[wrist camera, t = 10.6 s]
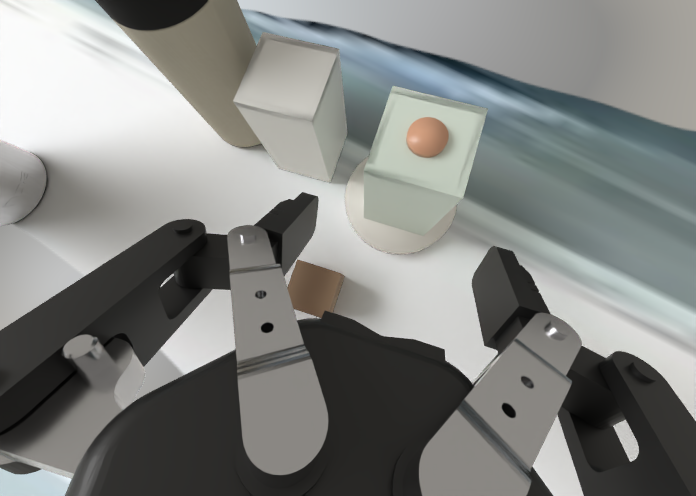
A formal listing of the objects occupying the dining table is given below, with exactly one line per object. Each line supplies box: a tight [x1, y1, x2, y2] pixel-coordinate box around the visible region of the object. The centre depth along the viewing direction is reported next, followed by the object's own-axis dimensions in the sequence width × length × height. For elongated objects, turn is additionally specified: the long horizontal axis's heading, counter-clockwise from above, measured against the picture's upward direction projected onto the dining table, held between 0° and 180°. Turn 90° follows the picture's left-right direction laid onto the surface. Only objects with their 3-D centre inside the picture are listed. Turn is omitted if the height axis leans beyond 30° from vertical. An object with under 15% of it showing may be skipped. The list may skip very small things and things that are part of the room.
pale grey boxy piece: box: [364, 86, 488, 236], centre depth 20 cm, size 6×6×10 cm
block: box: [287, 260, 344, 318], centre depth 24 cm, size 4×4×4 cm
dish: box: [345, 156, 457, 254], centre depth 26 cm, size 11×11×1 cm
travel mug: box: [95, 0, 261, 147], centre depth 21 cm, size 8×8×18 cm
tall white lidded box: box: [233, 32, 348, 183], centre depth 23 cm, size 6×6×10 cm
